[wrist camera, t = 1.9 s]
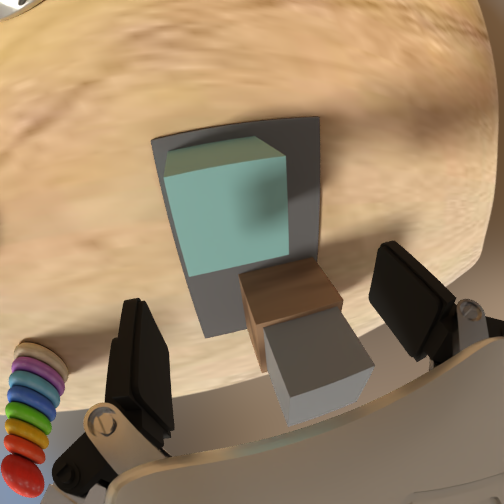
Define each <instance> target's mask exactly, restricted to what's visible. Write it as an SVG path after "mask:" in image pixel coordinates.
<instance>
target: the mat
mask: <svg viewBox="0 0 504 504" xmlns="http://www.w3.org/2000/svg"><path fill="white" fill-rule="evenodd" d="M251 136H256V137H257V138H259V139H260V140H262V141H264V142H265V143H267V144H268V145H270V146H271V147H273V148H274V149H276V150H278V151H279V152H281V153H282V154H284V155H285V156H286V173H287V198H288V233H289V255H285V256H280V257H276V258H272V259H267V260H263V261H258V262H254V263H250V264H245V265H241V266H236V267H232V268H227V269H223V270H218V271H214V272H209V273H205V274H200V275H196V276H191V277H189V275H188V271H187V268H186V264H185V261H184V257H183V254H182V250H181V247H180V243H179V239H178V235H177V232H176V228H175V224H174V220H173V216H172V212H171V208H170V204H169V199H168V195H167V191H166V187H165V182H164V178H163V177H164V171H165V165H166V159H167V153H168V151H172V150H176V149H181V148H186V147H191V146H196V145H201V144H206V143H212V142H218V141H224V140H230V139H237V138H243V137H251ZM151 145H152V150H153V155H154V159H155V164H156V168H157V173H158V177H159V182H160V186H161V190H162V194H163V199H164V203H165V207H166V211H167V215H168V218H169V222H170V226H171V230H172V233H173V237H174V241H175V244H176V248H177V251H178V255H179V258H180V262H181V265H182V269H183V272H184V275H185V279H186V282H187V285H188V288H189V291H190V295H191V298H192V301H193V304H194V307H195V310H196V313H197V316H198V319H199V322H200V325H201V328H202V331H203V333H204V336H205V338H210V337H214V336H219V335H223V334H227V333H232V332H236V331H240V330H244V329H247V326H246V320H245V314H244V308H243V301H242V295H241V289H240V283H239V276H238V274H242V273H246V272H251V271H255V270H259V269H264V268H268V267H272V266H276V265H281V264H285V263H289V262H293V261H298V260H302V259H306V258H310V257H313V258H314V260H315V261H316V262H317V255H318V235H319V209H320V119H319V117H299V118H284V119H272V120H262V121H253V122H245V123H237V124H230V125H223V126H217V127H211V128H205V129H200V130H194V131H189V132H184V133H179V134H174V135H170V136H165V137H161V138H157V139H153V140H151Z"/></svg>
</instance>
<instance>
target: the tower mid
mask: <svg viewBox="0 0 504 504" xmlns="http://www.w3.org/2000/svg"><path fill="white" fill-rule="evenodd" d="M263 332H264V342H265V352H266V363H267V370H268V373H269V376H270V378H271V381H272V384H273V387H274V389H275V392H276V395H277V398H278V401H279V403H280V406H281V409H282V411H283V414H284V417H285V420H286V422H287V425H288V427H289V426H292V425H295V424H298V423H302V422H305V421H307V420H310V419H313V418H316V417H319V416H322V415H324V414H327V413H329V412H332V411H335V410H337V409H340V408H342V407H345V406H347V405H349V404H352V403H354V402H356V401H357V400H358V398H359V396H360V394H361V392H362V390H363V388H364V387H365V385H366V382H367V381H368V379H369V377H370V375H371V373H372V371H373V369H374V367H375V364H374V363H373V361H372V360H371V358H370V356H369V355H368V353H367V352H366V350H365V348H364V347H363V345H362V344H361V342H360V341H359V339H358V337H357V336H356V334H355V333H354V331H353V330H352V328H351V327H350V325H349V323H348V322H347V320H346V319H345V317H344V316H343V314H342V313H341V311H340V310H339V308H338V307H337V306H336V307H333V308H330V309H327V310H323V311H320V312H317V313H313V314H310V315H307V316H303V317H300V318H296V319H293V320H289V321H286V322H282V323H278V324H275V325H271V326H267V327H263Z"/></svg>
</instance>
